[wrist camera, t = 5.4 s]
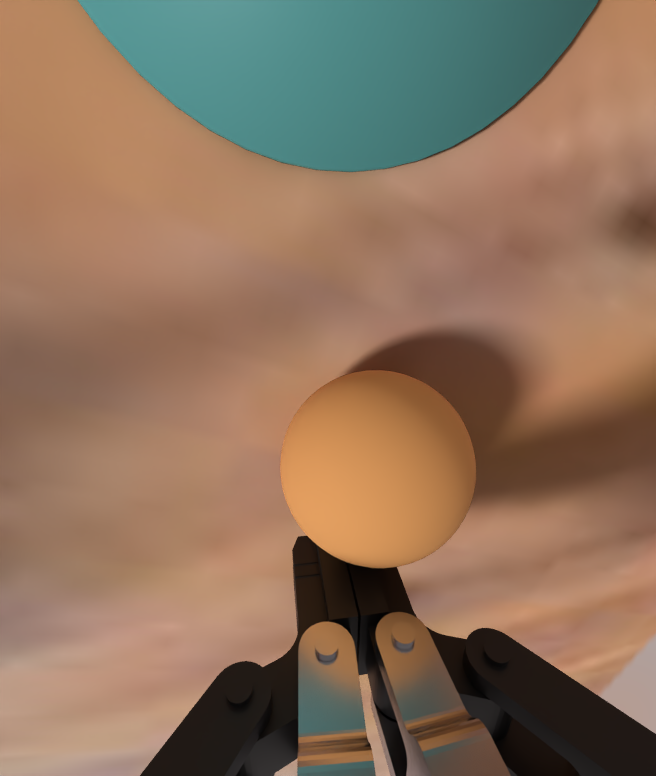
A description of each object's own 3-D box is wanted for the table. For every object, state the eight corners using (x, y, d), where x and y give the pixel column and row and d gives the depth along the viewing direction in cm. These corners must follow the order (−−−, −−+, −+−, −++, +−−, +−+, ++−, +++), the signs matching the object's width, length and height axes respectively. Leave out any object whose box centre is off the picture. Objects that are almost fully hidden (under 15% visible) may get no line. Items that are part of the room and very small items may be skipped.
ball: (284, 541, 12) (299, 632, 8) (269, 383, 13) (274, 371, 8) (433, 517, 13) (534, 585, 8) (418, 369, 13) (508, 351, 8)
